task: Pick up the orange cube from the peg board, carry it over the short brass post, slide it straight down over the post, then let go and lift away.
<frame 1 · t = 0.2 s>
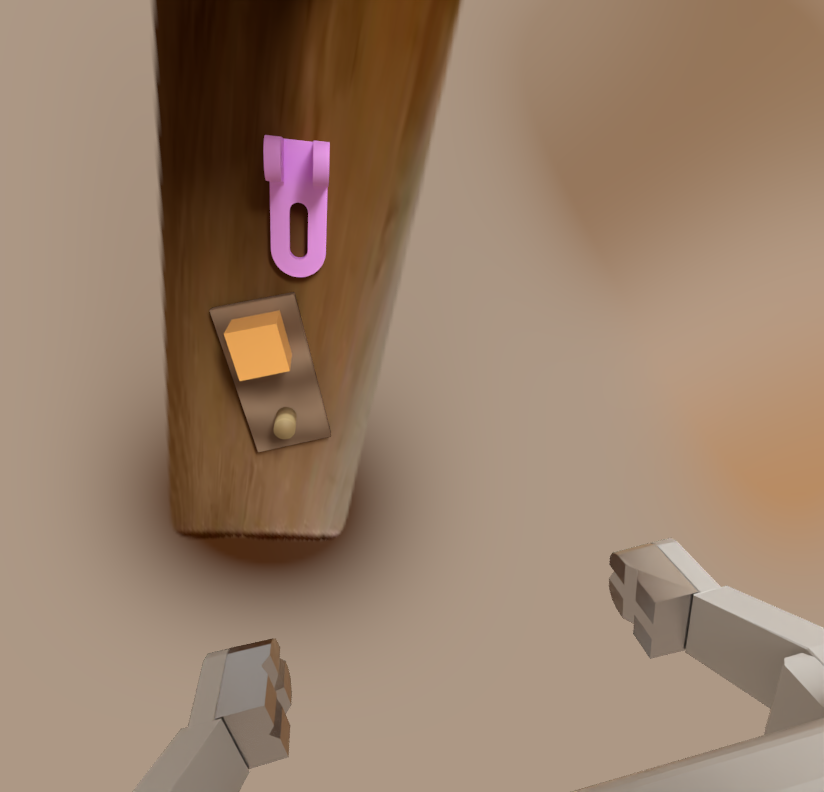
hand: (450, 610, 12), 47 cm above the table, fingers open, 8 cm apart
bracket: (299, 211, 51), on the table
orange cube: (262, 337, 55), point 1 cm above the table, touching peg board
peg board: (275, 374, 58), on the table
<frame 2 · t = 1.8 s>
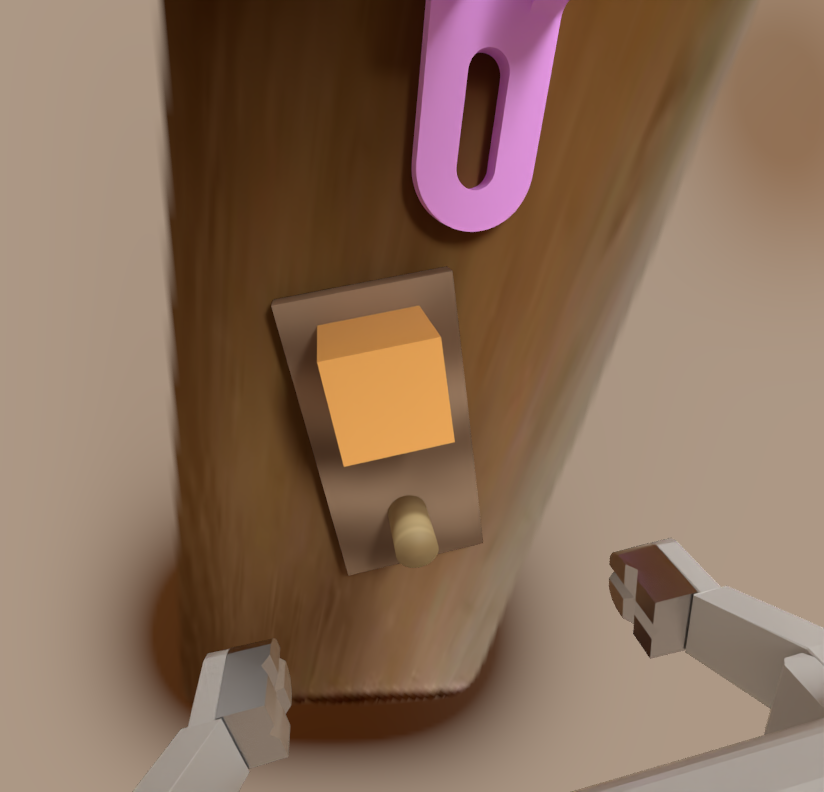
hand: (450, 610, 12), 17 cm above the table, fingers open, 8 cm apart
bracket: (478, 78, 23), on the table
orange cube: (377, 362, 26), point 1 cm above the table, touching peg board
peg board: (391, 432, 29), on the table
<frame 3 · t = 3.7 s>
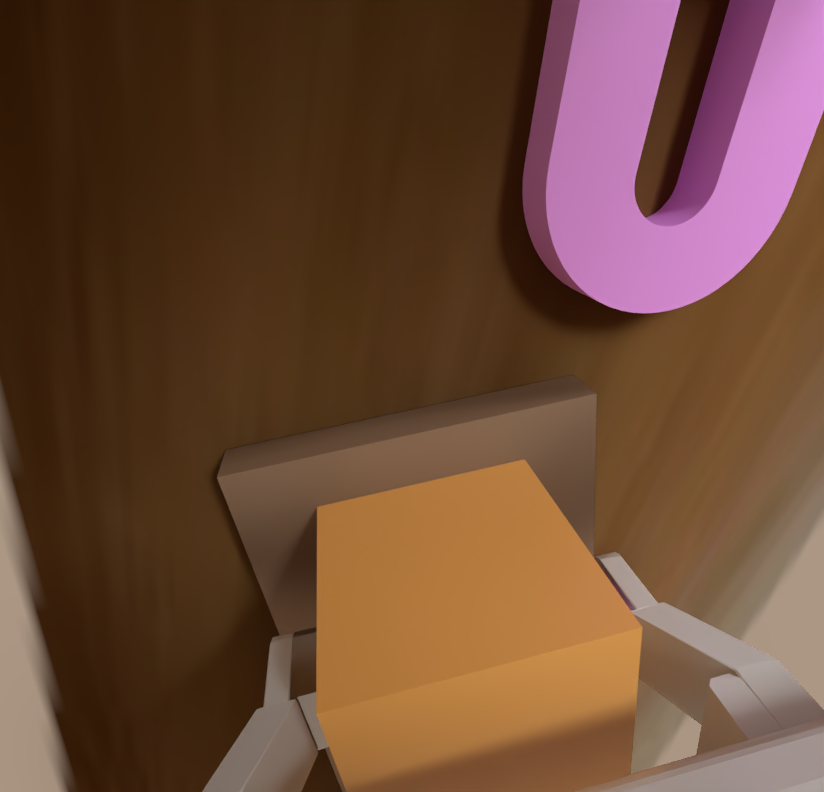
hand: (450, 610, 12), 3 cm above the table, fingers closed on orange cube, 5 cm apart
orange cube: (436, 561, 13), point 1 cm above the table, touching gripper, peg board
peg board: (447, 646, 16), on the table
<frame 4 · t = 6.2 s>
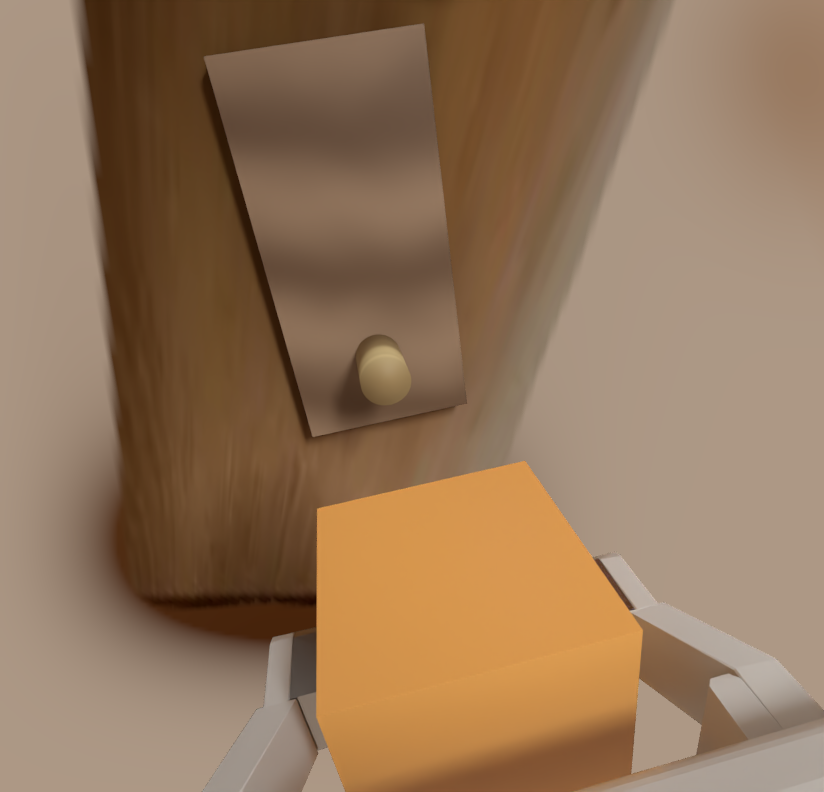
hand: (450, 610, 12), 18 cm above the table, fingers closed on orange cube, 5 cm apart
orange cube: (436, 562, 13), point 16 cm above the table, touching gripper
peg board: (357, 257, 25), on the table
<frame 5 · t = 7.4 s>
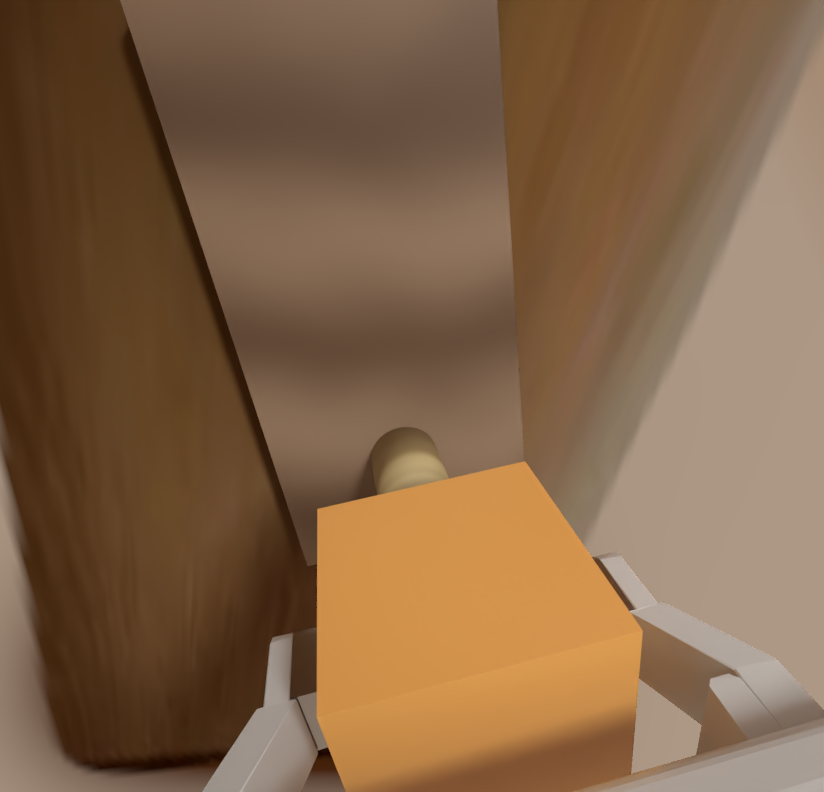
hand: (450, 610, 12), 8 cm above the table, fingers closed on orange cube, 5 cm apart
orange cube: (436, 563, 13), point 7 cm above the table, touching gripper
peg board: (375, 315, 17), on the table
when the fingers open (4 cm above the table, at t = 8.7 s): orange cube drops 1 cm, resting on peg board.
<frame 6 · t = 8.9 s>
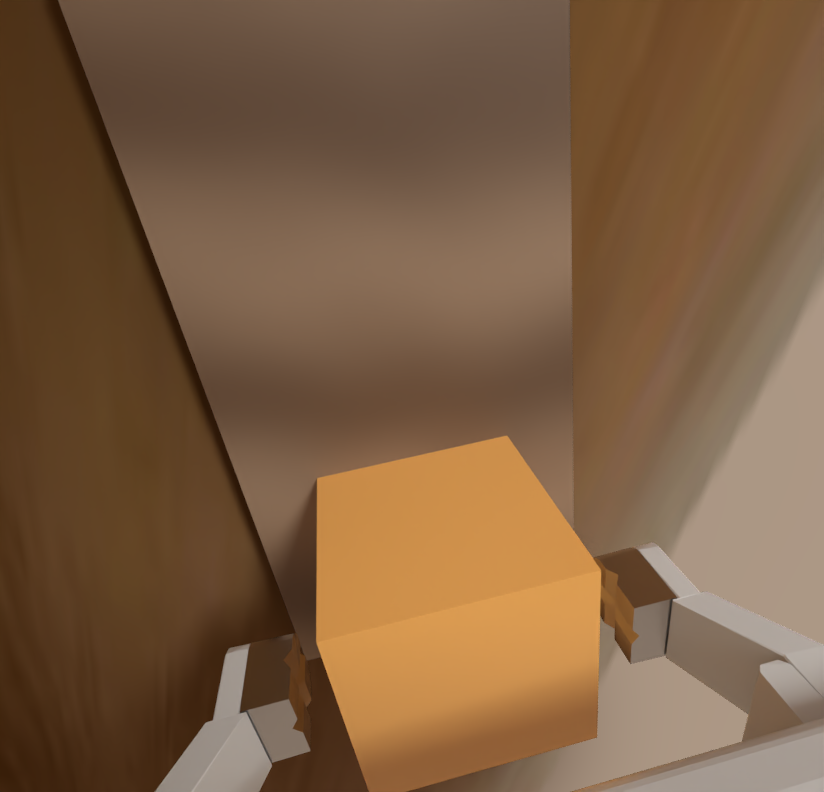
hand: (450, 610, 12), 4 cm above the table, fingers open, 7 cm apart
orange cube: (427, 531, 14), point 1 cm above the table, touching peg board
peg board: (392, 359, 13), on the table
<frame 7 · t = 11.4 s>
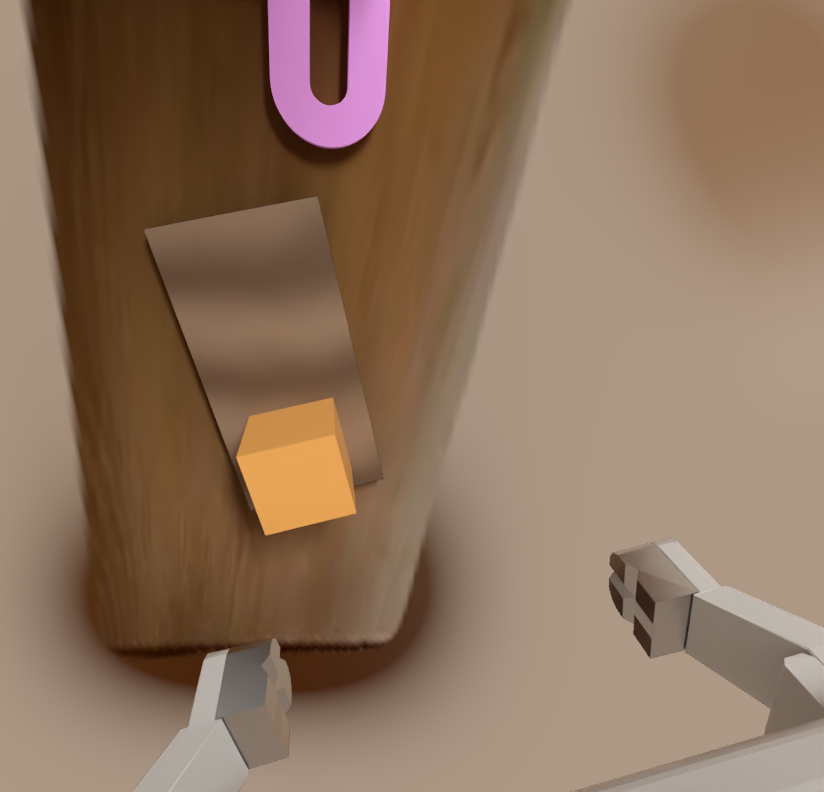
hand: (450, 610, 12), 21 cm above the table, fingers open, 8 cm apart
bracket: (329, 1, 24), on the table
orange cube: (302, 443, 31), point 1 cm above the table, touching peg board
peg board: (281, 364, 31), on the table
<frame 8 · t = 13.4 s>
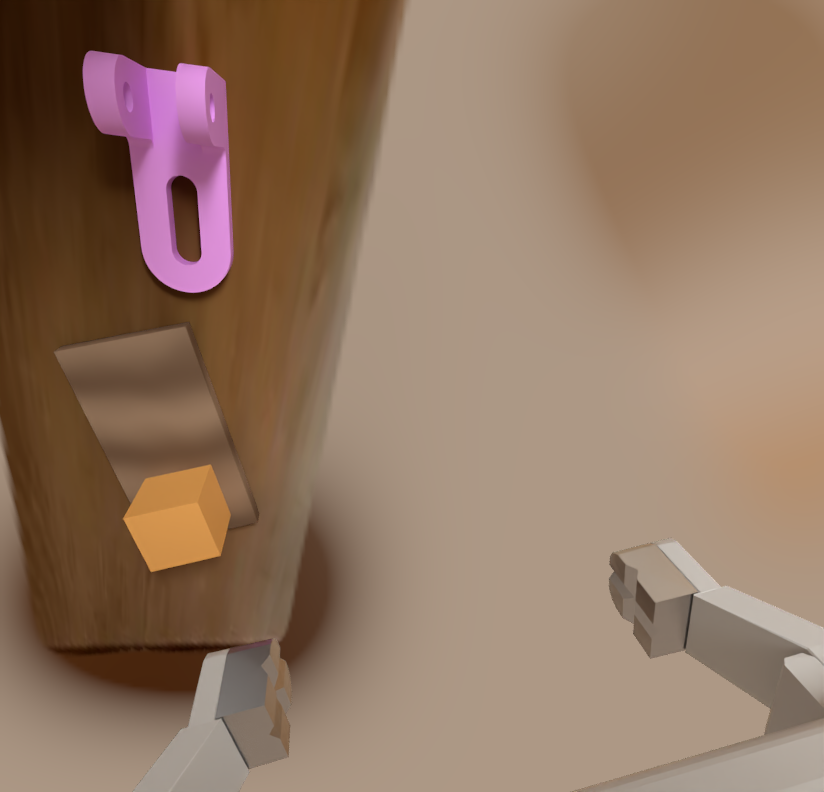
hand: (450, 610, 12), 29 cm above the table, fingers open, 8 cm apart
bracket: (187, 190, 33), on the table
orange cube: (189, 497, 41), point 1 cm above the table, touching peg board
peg board: (171, 439, 40), on the table
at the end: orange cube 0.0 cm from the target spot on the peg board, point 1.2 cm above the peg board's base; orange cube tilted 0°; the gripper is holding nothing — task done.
